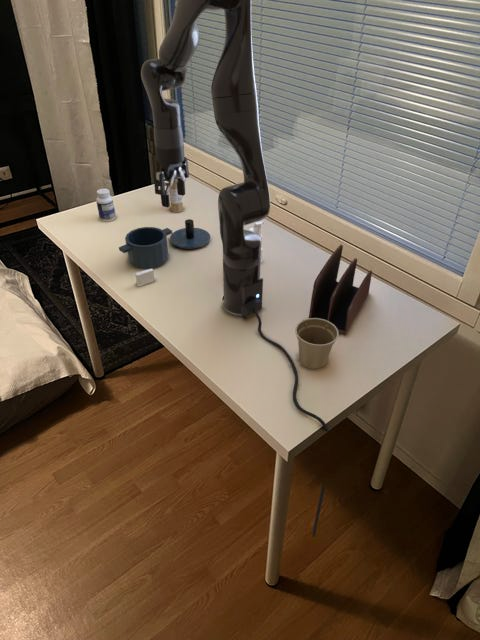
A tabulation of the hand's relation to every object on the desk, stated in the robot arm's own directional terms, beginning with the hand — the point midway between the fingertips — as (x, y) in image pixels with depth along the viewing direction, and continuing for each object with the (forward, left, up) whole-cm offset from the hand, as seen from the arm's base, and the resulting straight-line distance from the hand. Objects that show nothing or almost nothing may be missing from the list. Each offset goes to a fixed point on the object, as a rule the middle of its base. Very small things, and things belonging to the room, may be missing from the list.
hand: (174, 200), depth 140 cm
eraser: (-7, +17, -17) cm, 25 cm away
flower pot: (-59, +7, -17) cm, 62 cm away
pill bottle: (+34, +4, -17) cm, 38 cm away
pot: (+3, +9, -17) cm, 19 cm away
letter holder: (-51, -13, -17) cm, 55 cm away
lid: (+3, -7, -16) cm, 18 cm away
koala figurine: (-19, -13, -17) cm, 29 cm away
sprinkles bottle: (+23, -17, -17) cm, 33 cm away
